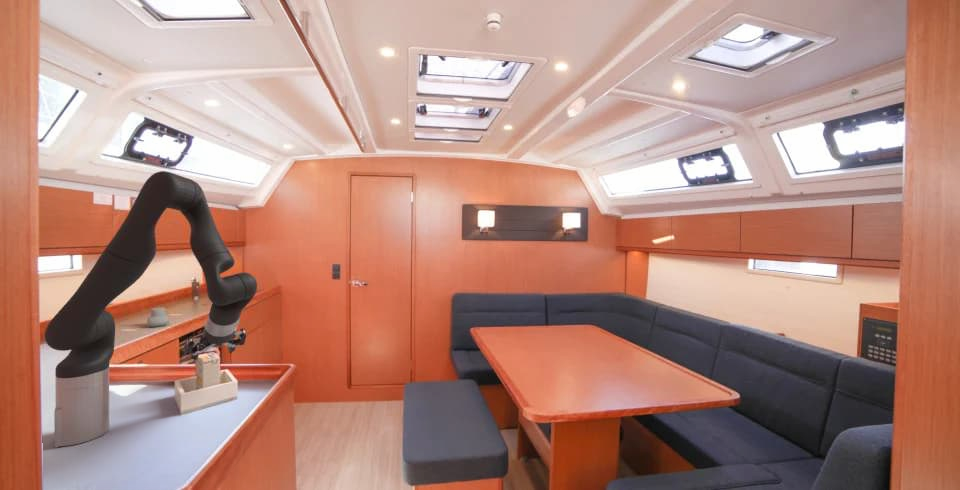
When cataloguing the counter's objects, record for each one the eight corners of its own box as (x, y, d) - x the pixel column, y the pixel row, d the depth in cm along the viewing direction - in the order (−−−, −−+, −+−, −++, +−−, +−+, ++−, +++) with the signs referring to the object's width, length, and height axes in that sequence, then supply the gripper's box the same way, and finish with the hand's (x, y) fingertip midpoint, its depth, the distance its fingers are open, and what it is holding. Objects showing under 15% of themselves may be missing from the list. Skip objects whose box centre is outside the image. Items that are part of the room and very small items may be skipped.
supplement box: (220, 397, 111) (221, 357, 110) (202, 402, 107) (202, 361, 107) (213, 389, 116) (213, 351, 116) (195, 394, 112) (195, 354, 112)
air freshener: (169, 326, 193) (169, 308, 193) (149, 329, 187) (149, 311, 187) (166, 322, 200) (166, 305, 200) (147, 325, 194) (147, 307, 194)
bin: (180, 415, 101) (181, 395, 101) (174, 399, 111) (174, 380, 110) (237, 399, 112) (237, 381, 111) (227, 385, 121) (227, 369, 121)
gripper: (248, 310, 104) (238, 339, 112) (187, 317, 93) (180, 349, 101) (253, 330, 101) (242, 359, 108) (191, 341, 90) (183, 371, 98)
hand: (212, 354), depth 105 cm, fingers open, 8 cm apart
